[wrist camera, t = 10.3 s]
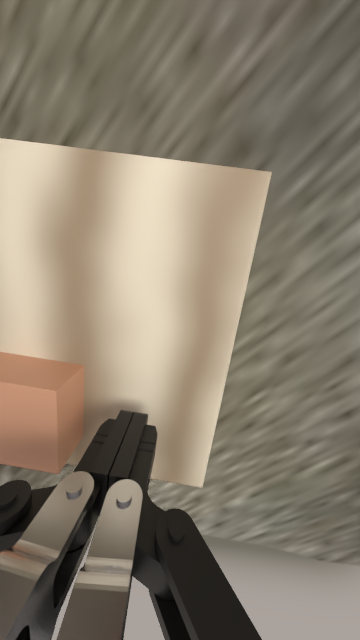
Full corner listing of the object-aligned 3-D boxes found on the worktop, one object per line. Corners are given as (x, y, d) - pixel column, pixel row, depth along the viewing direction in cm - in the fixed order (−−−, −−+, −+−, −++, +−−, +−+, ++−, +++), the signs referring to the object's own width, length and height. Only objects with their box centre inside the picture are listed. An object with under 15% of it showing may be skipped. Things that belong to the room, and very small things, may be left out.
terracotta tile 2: (84, 365, 12) (56, 390, 10) (83, 436, 13) (58, 474, 11) (0, 351, 12) (-49, 373, 10) (7, 423, 14) (-34, 457, 11)
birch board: (253, 194, 12) (271, 172, 9) (201, 448, 17) (202, 487, 14) (-21, 159, 12) (-87, 127, 9) (6, 415, 17) (-32, 446, 14)
